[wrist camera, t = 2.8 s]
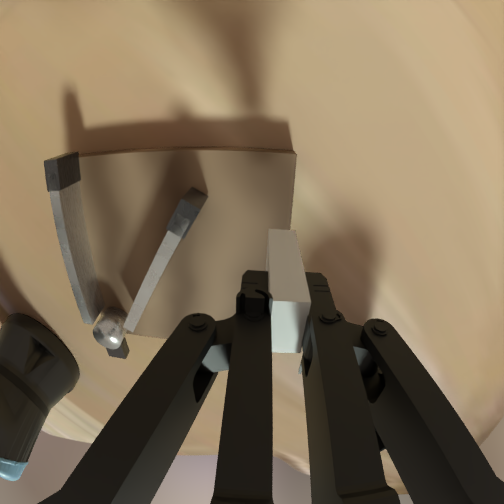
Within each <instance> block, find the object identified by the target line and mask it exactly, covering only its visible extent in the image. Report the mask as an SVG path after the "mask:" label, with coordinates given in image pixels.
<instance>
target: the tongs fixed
mask: <svg viewBox="0 0 504 504" xmlns="http://www.w3.org/2000/svg"><path fill="white" fill-rule="evenodd" d="M44 167H45V176H46V183H47V190H48V192H50V198H51V204H52V210H53V215H54V220H55V225H56V230H57V234H58V239H59V243H60V247H61V251H62V255H63V259H64V263H65V266H66V270H67V273H68V277H69V280H70V283H71V287H72V290H73V293H74V296H75V299H76V302H77V305H78V308H79V310H80V313H81V316H82V319H83V321H84V323H87V324H92V325H93V323H94V321H95V320H96V318H97V317H98V315H99V314H100V312H101V311H102V309H103V308H104V306H105V304H104V301H103V297H102V294H101V290H100V286H99V282H98V279H97V275H96V271H95V266H94V262H93V258H92V253H91V249H90V244H89V239H88V234H87V229H86V223H85V217H84V211H83V205H82V198H81V191H80V183H79V181H80V180H81V175H80V165H79V153H78V152H72V153H65V154H62V155H59V156H56V157H54V158H51V159H48V160H45V161H44ZM127 316H128V315H127V314H126V313H125V312H124V311H123V310H122V309H120V308H117V307H108V308H107V309H106V310H105V312H104V313H103V315H102V316H101V318H100V319H99V321H98V323H97V324H96V326H95V327H94V329H93V335H94V338H95V339H96V340H97V342H98V343H100V344H101V345H102V346H104V347H106V349H107V352H108V354H109V356H112V357H117V358H123V359H126V358H127V355H128V353H129V348H128V345H127V342H126V339H125V335H126V333H127V331H128V329H126V328H124V327H123V326H124V323H125V321H126V319H127Z"/></svg>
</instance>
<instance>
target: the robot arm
mask: <svg viewBox="0 0 504 504" xmlns="http://www.w3.org/2000/svg"><path fill="white" fill-rule="evenodd" d="M328 286H329V285H328V282H327V279H326V278H325V277H324V276H323V275H322V274H321V273H310V272H305V271H304V266H303V262H302V257H301V253H300V249H299V244H298V240H297V236H296V231H295V230H281V229H269V231H268V244H267V258H266V271H258V270H247V271H246V272H245V273H244V274H243V275H242V282H241V289H240V292H238V294H237V296H236V313H235V314H234V315H233V316H232V317H230V318H227V319H224V320H219V321H215V319H214V318H213V317H211V316H210V315H208V314H205V313H193V314H190V315H187V316H185V317H184V318H183V319H182V320H181V322H180V323H179V324H178V326H177V327H176V328H175V330H174V331H173V332H172V334H171V335H170V336H169V338H168V339H167V340H166V342H165V343H164V345H163V346H162V347H161V349H160V350H159V351H158V353H157V354H156V355H155V357H154V358H153V360H152V361H151V362H150V364H149V365H148V366H147V368H146V369H145V371H144V372H143V373H142V375H141V376H140V377H139V379H138V380H137V382H136V383H135V384H134V386H133V387H132V389H131V390H130V391H129V393H128V394H127V395H126V397H125V398H124V400H123V401H122V402H121V404H120V405H119V407H118V408H117V409H116V411H115V412H114V414H113V415H112V416H111V418H110V419H109V421H108V422H107V424H106V425H105V426H104V428H103V429H102V431H101V432H100V433H99V435H98V436H97V438H96V439H95V441H94V442H93V443H92V445H91V447H90V448H89V449H88V451H87V452H86V453H85V455H84V456H83V458H82V459H81V461H80V462H79V464H78V465H77V466H76V468H75V469H74V471H73V472H72V474H71V475H70V477H69V478H68V480H67V481H66V482H65V484H64V485H63V487H62V488H61V490H59V491H58V492H56V493H54V494H53V495H51V496H49V497H48V498H46V499H44V500H43V501H41V502H39V503H38V504H150V503H151V501H152V499H153V498H154V496H155V494H156V492H157V490H158V488H159V487H160V485H161V483H162V481H163V479H164V477H165V475H166V473H167V472H168V470H169V468H170V466H171V464H172V462H173V460H174V459H175V456H176V455H177V453H178V451H179V449H180V447H181V445H182V443H183V441H184V439H185V437H186V436H187V434H188V432H189V430H190V428H191V426H192V424H193V422H194V420H195V418H196V416H197V414H198V412H199V410H200V408H201V406H202V404H203V402H204V400H205V398H206V396H207V394H208V392H209V390H210V389H211V387H212V385H213V383H214V381H215V379H216V377H217V375H218V371H224V370H229V371H228V379H227V387H226V395H225V403H224V411H223V419H222V427H221V435H220V444H219V452H218V461H217V469H216V477H215V486H214V493H213V497H212V499H211V503H210V504H274V503H273V498H272V458H273V413H272V352H281V353H300V352H301V348H303V356H302V360H301V364H300V368H299V373H298V374H301V372H302V376H303V386H304V397H305V408H306V420H307V433H308V447H309V462H310V477H311V478H310V479H311V497H312V504H400V500H399V497H398V494H397V492H396V491H395V489H393V488H391V487H389V486H388V485H387V483H386V480H385V476H384V470H383V465H382V460H381V455H380V450H379V446H378V441H377V436H376V432H375V428H376V430H377V432H378V434H379V436H380V438H381V440H382V442H383V444H384V446H385V448H386V450H387V451H388V453H389V455H390V457H391V459H392V461H393V463H394V465H395V467H396V469H397V471H398V473H399V475H400V477H401V479H402V481H403V483H404V485H405V487H406V489H407V491H408V493H409V495H410V497H411V499H412V501H413V503H414V504H504V482H503V481H501V480H500V479H499V478H498V477H496V475H495V473H494V471H493V470H492V468H491V466H490V465H489V463H488V461H487V460H486V458H485V456H484V455H483V453H482V451H481V450H480V448H479V446H478V445H477V443H476V442H475V440H474V439H473V437H472V435H471V434H470V432H469V431H468V429H467V428H466V426H465V425H464V423H463V422H462V420H461V419H460V417H459V416H458V414H457V413H456V411H455V410H454V408H453V407H452V405H451V404H450V402H449V401H448V400H447V398H446V397H445V395H444V394H443V392H442V391H441V390H440V388H439V387H438V385H437V384H436V383H435V381H434V380H433V378H432V377H431V376H430V374H429V373H428V372H427V370H426V369H425V368H424V366H423V365H422V364H421V362H420V361H419V360H418V358H417V357H416V356H415V354H414V353H413V352H412V350H411V349H410V348H409V346H408V345H407V344H406V343H405V341H404V340H403V339H402V337H401V336H400V335H399V334H398V332H397V331H396V330H395V328H394V327H393V326H392V325H391V324H390V323H388V322H387V321H385V320H382V319H370V320H368V321H367V322H366V323H365V324H364V326H360V325H356V324H352V323H349V322H347V321H345V318H344V316H343V315H342V313H340V312H339V311H338V310H336V308H335V305H334V301H333V298H332V295H331V292H330V289H329V287H328ZM79 376H80V373H79V368H78V366H77V363H76V361H75V360H74V358H73V356H72V355H71V353H70V352H69V351H68V349H67V348H66V347H65V346H64V345H63V344H62V342H61V341H60V340H59V339H58V338H57V337H56V336H55V335H53V334H52V333H51V332H50V331H49V330H48V329H47V328H45V327H44V326H43V325H41V324H40V323H38V322H37V321H35V320H34V319H32V318H30V317H28V316H25V315H22V314H12V315H10V316H9V317H8V318H7V320H6V321H5V322H4V323H3V325H2V326H1V330H0V477H2V478H4V479H6V480H10V481H15V480H18V479H19V478H20V476H21V474H22V472H23V470H24V468H25V466H26V465H27V464H28V459H29V457H30V454H31V452H32V449H33V447H34V444H35V442H36V439H37V437H38V435H39V433H40V430H41V428H42V426H43V424H44V422H45V420H46V418H47V416H48V413H49V412H50V410H51V408H52V407H53V406H55V405H56V404H57V403H58V402H59V401H60V400H61V399H62V398H63V397H64V396H65V395H66V394H67V393H69V392H70V391H72V390H73V388H74V387H75V385H76V383H77V381H78V379H79ZM374 426H375V428H374Z"/></svg>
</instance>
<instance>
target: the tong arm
mask: <svg viewBox="0 0 504 504" xmlns="http://www.w3.org/2000/svg"><path fill="white" fill-rule="evenodd" d="M208 197H209V196H208V195H206V194H204V193H203V192H201V191H199V190H197V189H196V188H194V187H191V188H190V189H189V191H188V192H187V193H186V194H185V195H184V196H183V197H182V199H181V200H180V202H179V204H178V206H177V208H176V210H175V212H174V214H173V215H172V217H171V219H170V221H169V223H168V225H167V227H166V229H167V230H168V232H167V234H166V236H165V237H164V239H163V241H162V243H161V245H160V247H159V249H158V251H157V253H156V255H155V257H154V260H153V262H152V264H151V266H150V268H149V270H148V272H147V274H146V276H145V278H144V281H143V283H142V285H141V287H140V289H139V291H138V294H137V296H136V298H135V300H134V303H133V305H132V307H131V309H130V312H129V314H128V316H127V319H126V321H125V323H124V326H123V327H124V328H126V329H128V330H129V331H131V332H133V331H134V329H135V327H136V325H137V323H138V321H139V319H140V317H141V315H142V313H143V311H144V309H145V307H146V305H147V303H148V301H149V299H150V297H151V295H152V293H153V291H154V289H155V287H156V285H157V283H158V281H159V279H160V277H161V275H162V274H163V272H164V270H165V268H166V266H167V264H168V262H169V260H170V258H171V257H172V255H173V253H174V251H175V249H176V247H177V245H178V244H179V242H180V240H181V238H182V239H184V238H185V236H186V235H187V233H188V231H189V229H190V228H191V226H192V224H193V222H194V221H195V219H196V217H197V215H198V214H199V212H200V210H201V209H202V207H203V205H204V203H205V202H206V200H207V198H208Z"/></svg>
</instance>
